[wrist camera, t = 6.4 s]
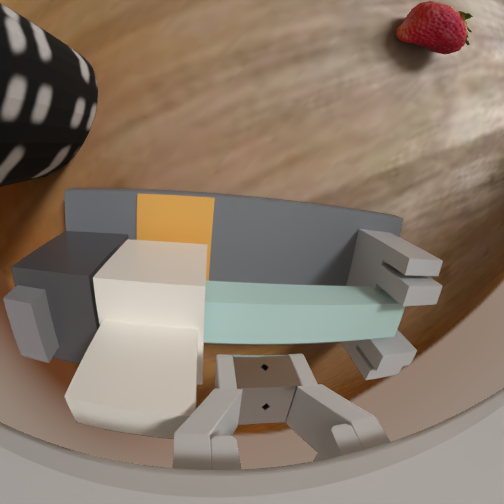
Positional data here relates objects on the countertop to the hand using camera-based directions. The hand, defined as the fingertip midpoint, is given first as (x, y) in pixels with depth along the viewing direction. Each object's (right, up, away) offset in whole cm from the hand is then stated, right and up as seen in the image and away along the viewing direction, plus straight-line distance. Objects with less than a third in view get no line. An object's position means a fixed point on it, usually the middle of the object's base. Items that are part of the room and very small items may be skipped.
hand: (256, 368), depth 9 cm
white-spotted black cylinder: (-13, +13, +3) cm, 18 cm away
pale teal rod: (-1, +2, +4) cm, 5 cm away
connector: (-9, +3, +6) cm, 11 cm away
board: (-1, +3, +7) cm, 8 cm away
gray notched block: (+7, +2, +9) cm, 11 cm away
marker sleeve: (-4, +2, +5) cm, 7 cm away
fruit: (+12, +20, +4) cm, 23 cm away
